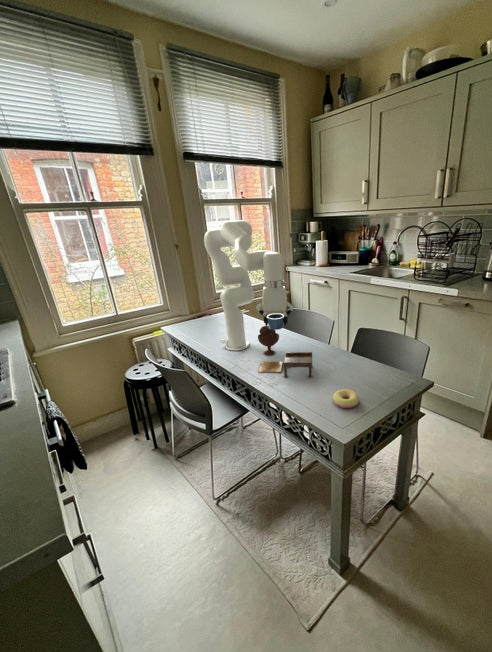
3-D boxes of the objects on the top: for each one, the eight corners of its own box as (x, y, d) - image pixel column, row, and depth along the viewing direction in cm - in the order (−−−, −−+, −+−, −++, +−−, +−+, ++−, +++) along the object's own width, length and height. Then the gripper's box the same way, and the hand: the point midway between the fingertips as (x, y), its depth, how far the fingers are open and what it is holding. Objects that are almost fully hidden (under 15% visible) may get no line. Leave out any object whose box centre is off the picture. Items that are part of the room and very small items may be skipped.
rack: (284, 377, 137) (283, 362, 134) (286, 366, 147) (285, 352, 144) (311, 377, 136) (311, 362, 133) (312, 366, 146) (312, 352, 143)
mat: (258, 372, 143) (258, 371, 142) (262, 362, 152) (262, 361, 151) (280, 372, 142) (280, 371, 141) (282, 362, 151) (282, 361, 150)
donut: (357, 401, 121) (333, 395, 123) (360, 390, 120) (336, 385, 122) (356, 412, 112) (330, 406, 114) (359, 401, 111) (332, 394, 113)
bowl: (266, 330, 134) (265, 319, 132) (268, 324, 141) (268, 313, 139) (283, 330, 133) (283, 318, 131) (285, 324, 140) (284, 313, 138)
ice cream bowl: (278, 358, 156) (276, 329, 149) (256, 357, 158) (253, 328, 152) (282, 349, 165) (280, 322, 159) (261, 348, 167) (259, 321, 161)
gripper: (295, 281, 132) (296, 321, 139) (254, 282, 134) (257, 321, 141) (294, 285, 125) (295, 327, 132) (251, 286, 127) (254, 327, 134)
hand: (275, 324), depth 137 cm, fingers closed on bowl, 7 cm apart
